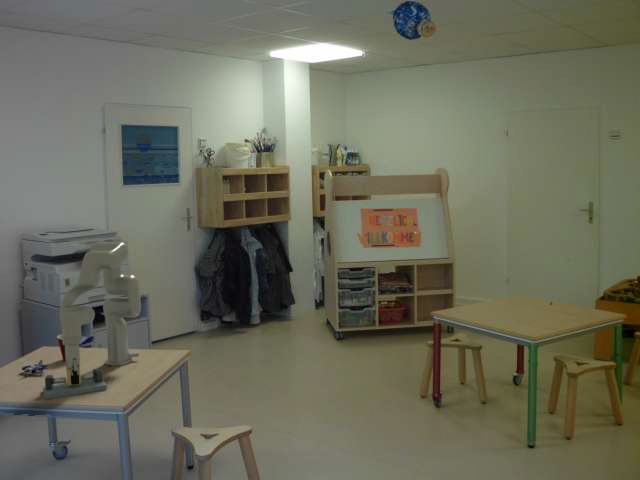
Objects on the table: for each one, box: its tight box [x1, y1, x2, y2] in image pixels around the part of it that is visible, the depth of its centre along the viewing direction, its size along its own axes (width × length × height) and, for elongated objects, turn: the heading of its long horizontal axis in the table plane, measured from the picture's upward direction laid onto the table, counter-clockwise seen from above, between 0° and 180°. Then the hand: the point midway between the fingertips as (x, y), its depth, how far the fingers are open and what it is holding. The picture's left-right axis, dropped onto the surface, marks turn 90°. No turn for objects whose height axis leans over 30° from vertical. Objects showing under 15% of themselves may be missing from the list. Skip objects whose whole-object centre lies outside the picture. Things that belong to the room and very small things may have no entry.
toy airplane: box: [19, 359, 49, 378], centre depth 312 cm, size 13×14×4 cm
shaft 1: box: [44, 374, 67, 390], centre depth 285 cm, size 8×4×5 cm, turn 102°
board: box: [42, 378, 108, 400], centre depth 288 cm, size 24×11×2 cm, turn 117°
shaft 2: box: [81, 367, 104, 383], centre depth 291 cm, size 8×4×5 cm, turn 132°
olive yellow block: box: [65, 366, 82, 386], centre depth 287 cm, size 5×4×7 cm
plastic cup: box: [56, 333, 65, 362], centre depth 334 cm, size 11×11×12 cm
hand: (74, 382), depth 288 cm, fingers closed on olive yellow block, 3 cm apart
